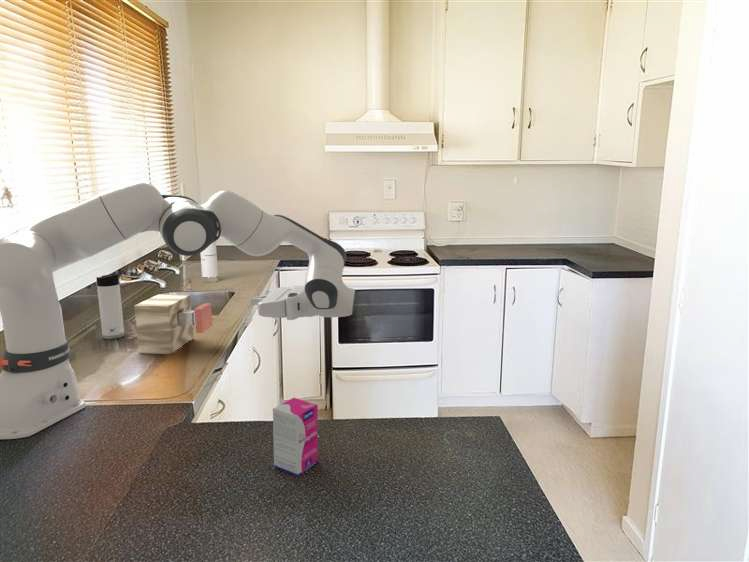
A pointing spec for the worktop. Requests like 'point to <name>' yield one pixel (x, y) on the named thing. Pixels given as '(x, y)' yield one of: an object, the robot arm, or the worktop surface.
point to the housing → (162, 324)
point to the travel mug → (110, 306)
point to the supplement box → (295, 436)
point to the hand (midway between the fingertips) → (252, 300)
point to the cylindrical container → (209, 261)
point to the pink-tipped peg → (197, 317)
